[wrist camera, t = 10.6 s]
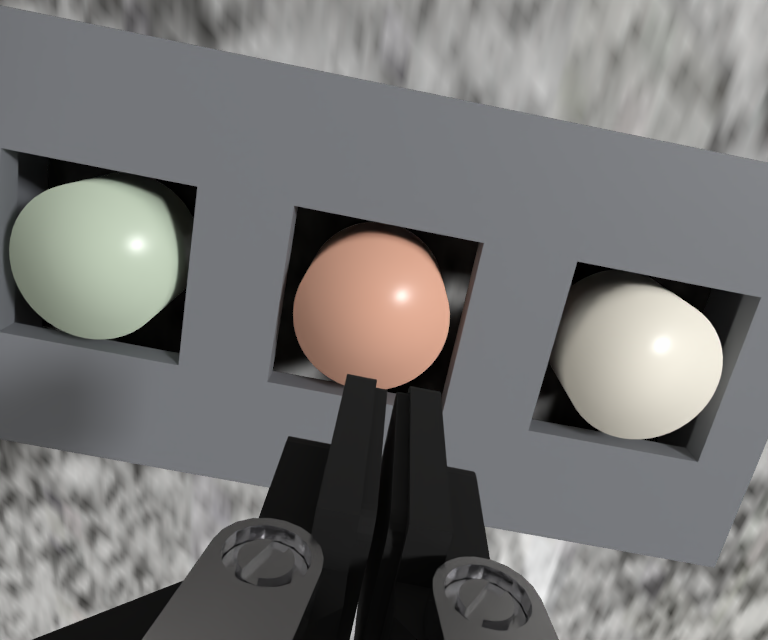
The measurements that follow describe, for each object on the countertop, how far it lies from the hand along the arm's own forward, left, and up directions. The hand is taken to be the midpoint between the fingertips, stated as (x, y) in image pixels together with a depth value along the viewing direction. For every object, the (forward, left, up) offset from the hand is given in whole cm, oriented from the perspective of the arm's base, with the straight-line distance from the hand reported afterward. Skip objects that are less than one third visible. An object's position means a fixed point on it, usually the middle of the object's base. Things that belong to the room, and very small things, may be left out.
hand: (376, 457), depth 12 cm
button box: (0, +1, -15) cm, 15 cm away
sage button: (+9, +1, -13) cm, 16 cm away
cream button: (-9, +1, -13) cm, 16 cm away
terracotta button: (0, +1, -13) cm, 13 cm away
